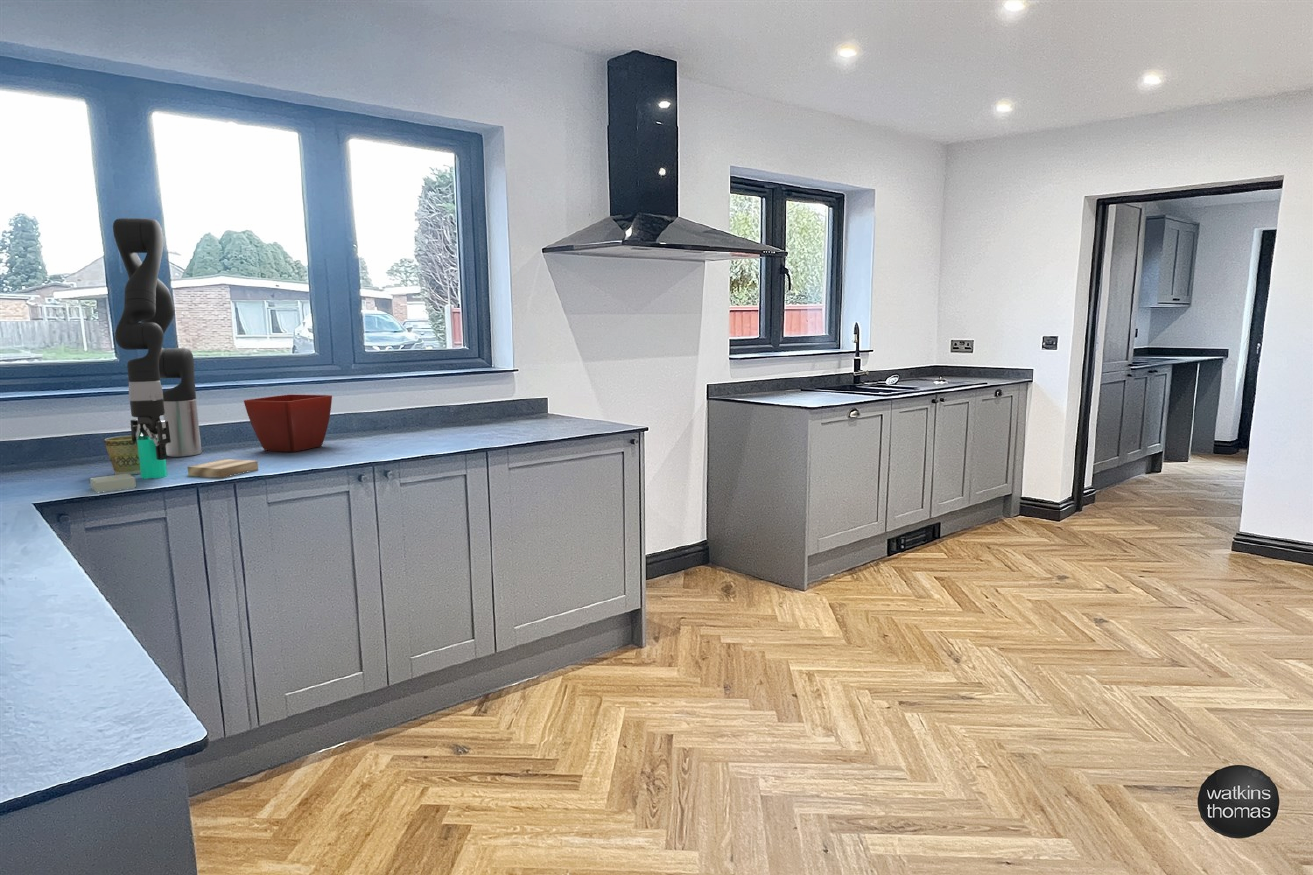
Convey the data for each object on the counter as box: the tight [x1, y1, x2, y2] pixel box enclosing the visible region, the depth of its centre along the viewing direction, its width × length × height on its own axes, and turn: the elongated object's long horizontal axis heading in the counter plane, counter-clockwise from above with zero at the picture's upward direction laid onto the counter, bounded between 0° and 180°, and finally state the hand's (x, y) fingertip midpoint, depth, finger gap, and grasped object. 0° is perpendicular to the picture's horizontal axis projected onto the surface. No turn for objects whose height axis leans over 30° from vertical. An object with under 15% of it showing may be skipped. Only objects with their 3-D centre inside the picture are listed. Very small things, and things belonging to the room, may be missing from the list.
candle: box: [137, 438, 168, 480], centre depth 210 cm, size 6×6×12 cm
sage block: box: [89, 474, 137, 493], centre depth 197 cm, size 8×8×3 cm
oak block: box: [187, 458, 259, 479], centre depth 215 cm, size 12×12×3 cm
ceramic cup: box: [103, 434, 141, 476], centre depth 216 cm, size 13×10×10 cm
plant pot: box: [243, 393, 333, 453], centre depth 253 cm, size 19×19×17 cm
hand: (153, 458), depth 209 cm, fingers open, 8 cm apart
